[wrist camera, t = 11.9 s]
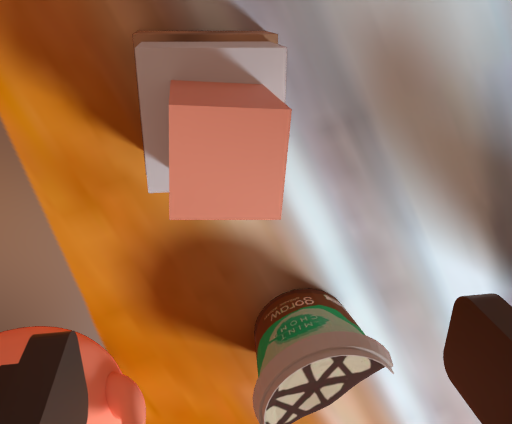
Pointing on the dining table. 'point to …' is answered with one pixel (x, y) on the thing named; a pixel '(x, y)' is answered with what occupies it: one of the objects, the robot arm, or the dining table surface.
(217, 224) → the dining table surface
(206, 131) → the red block
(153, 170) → the top slab
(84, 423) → the robot arm
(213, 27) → the dining table surface
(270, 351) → the food container
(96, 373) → the teapot
